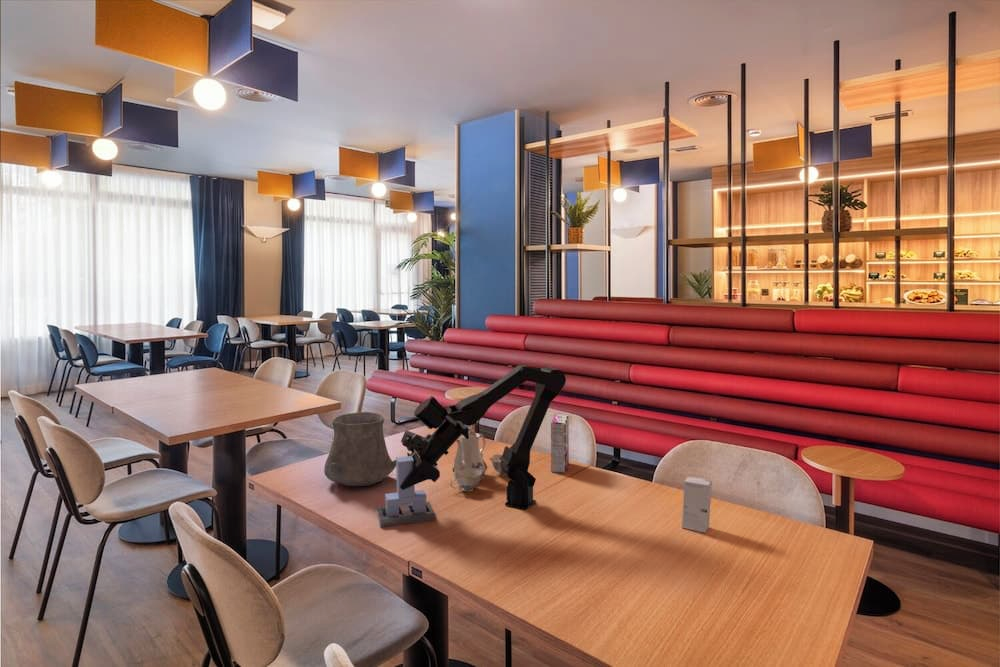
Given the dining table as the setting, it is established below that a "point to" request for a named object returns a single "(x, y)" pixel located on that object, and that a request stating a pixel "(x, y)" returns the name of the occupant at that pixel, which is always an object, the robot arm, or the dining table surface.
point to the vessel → (358, 450)
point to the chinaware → (472, 462)
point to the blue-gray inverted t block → (407, 494)
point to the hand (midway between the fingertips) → (400, 485)
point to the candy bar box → (559, 443)
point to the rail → (405, 515)
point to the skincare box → (696, 504)
